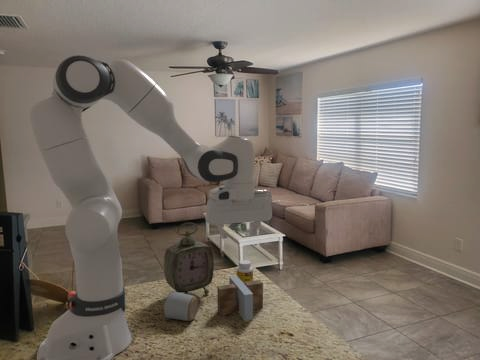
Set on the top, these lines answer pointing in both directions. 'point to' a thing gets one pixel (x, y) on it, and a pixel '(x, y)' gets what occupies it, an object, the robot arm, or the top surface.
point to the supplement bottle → (245, 271)
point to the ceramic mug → (180, 306)
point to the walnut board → (230, 301)
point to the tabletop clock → (188, 264)
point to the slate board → (243, 298)
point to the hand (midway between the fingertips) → (239, 236)
